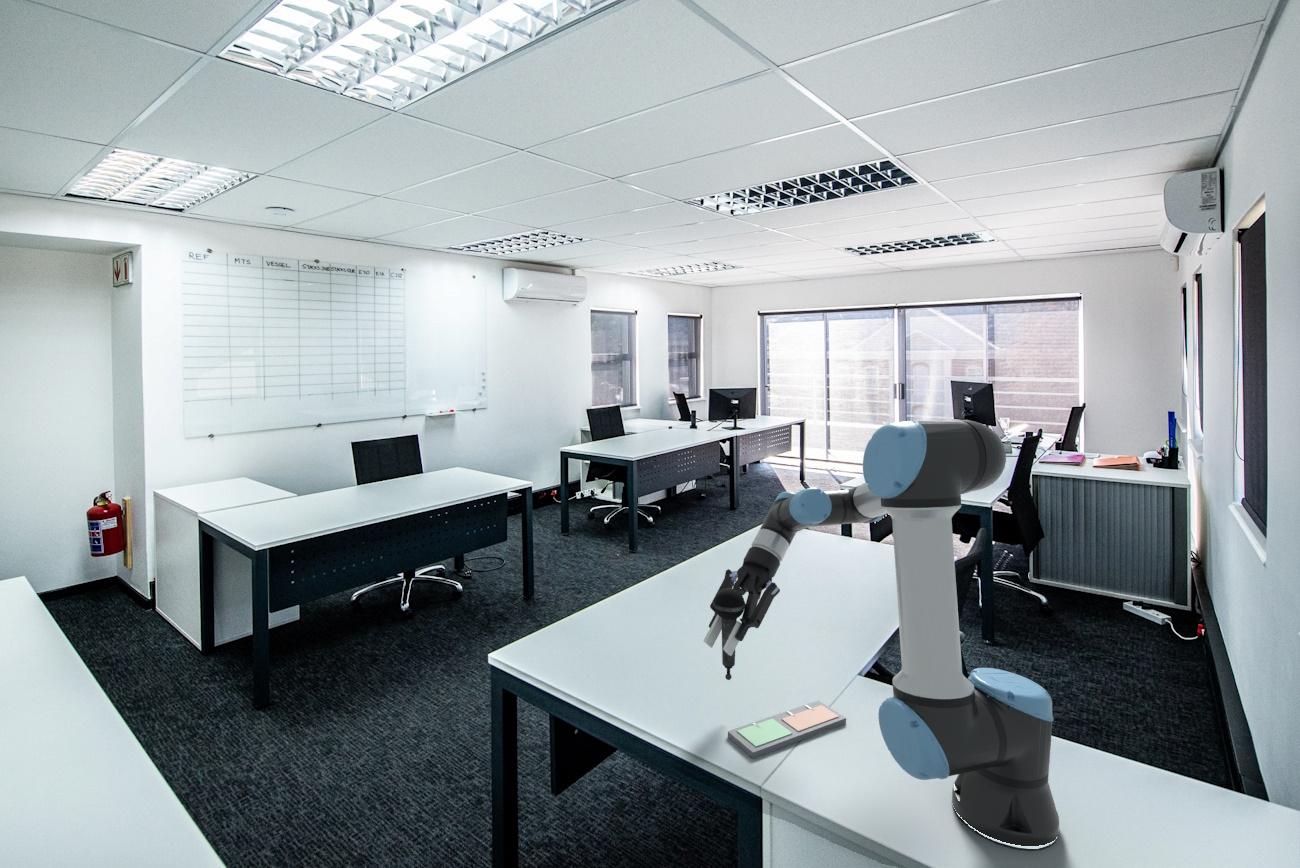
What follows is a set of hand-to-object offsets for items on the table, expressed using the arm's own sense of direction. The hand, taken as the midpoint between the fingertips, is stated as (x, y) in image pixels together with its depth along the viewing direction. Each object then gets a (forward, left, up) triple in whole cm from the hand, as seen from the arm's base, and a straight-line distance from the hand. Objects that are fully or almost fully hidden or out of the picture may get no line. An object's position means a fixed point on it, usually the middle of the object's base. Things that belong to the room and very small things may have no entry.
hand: (717, 648), depth 131 cm
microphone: (+1, -4, -8) cm, 9 cm away
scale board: (-11, -10, -15) cm, 21 cm away
